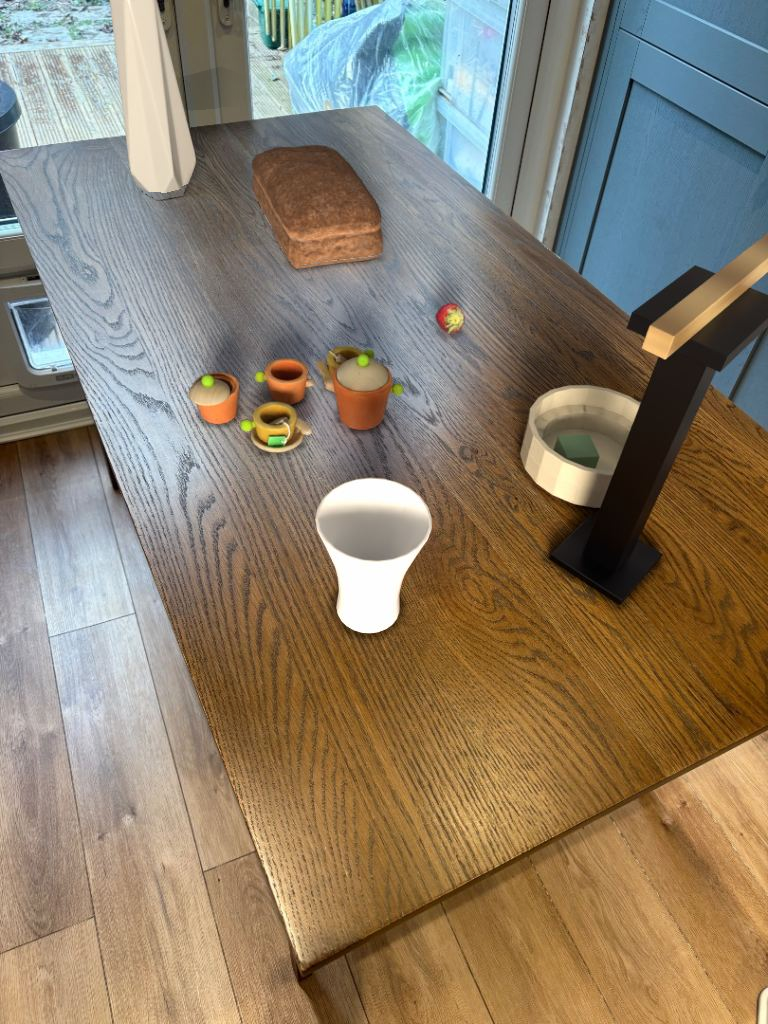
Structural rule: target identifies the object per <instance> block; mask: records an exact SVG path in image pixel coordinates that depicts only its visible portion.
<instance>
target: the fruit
mask: <svg viewBox="0 0 768 1024" xmlns="http://www.w3.org/2000/svg"><path fill="white" fill-rule="evenodd" d="M435 321H436V323H437V324H438V326H439V328H440V329H441V330H443V331H444V332H445V333H446V334H447V335H449V334H455V333H458V332H459V331H461V330H462V329H463V328H464V325H465V322H466V317H465V314H464V312H463V310H462V308H461V307H460V305H458V304H457V303H453V302H448V303H446V304H444V305H442V306H441V307H439V309H438V310H437V312H436V314H435Z"/></svg>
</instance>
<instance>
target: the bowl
mask: <svg viewBox="0 0 768 1024" xmlns="http://www.w3.org/2000/svg"><path fill="white" fill-rule="evenodd" d="M640 403H641V401H639V400H637V399H635V398H633V397H632V396H630V395H627V394H624V393H622V392H619V391H616V390H614V389H611V388H607V387H601V386H596V385H589V384H577V385H576V384H574V385H573V384H572V385H564V386H561V387H556V388H552V389H550V390H549V391H547V392H545V393H543V394H541V395H540V396H538V397H537V399H536V400H535V401H534V403H533V404H531V407H530V408H529V411H528V416H527V419H526V424H525V427H524V431H523V436H522V439H521V445H520V451H519V452H520V453H519V456H520V459H521V461H522V465H523V468H524V470H525V471H526V472H527V474H528V475H529V476H530V477H531V479H532V480H533V481H534V483H535V484H537V485H538V486H539V487H540V488H542V489H543V490H545V491H546V492H548V493H549V494H551V496H554V497H556V498H558V499H561V500H563V501H565V502H568V503H571V504H573V505H577V506H583V507H588V508H593V509H600V507H601V504H602V502H603V499H604V496H605V494H606V491H607V489H608V486H609V483H610V481H611V478H612V476H613V473H614V471H615V468H616V465H617V463H618V460H619V458H620V455H621V452H622V450H623V447H624V445H625V442H626V440H627V437H628V434H629V432H630V429H631V427H632V424H633V421H634V419H635V416H636V414H637V411H638V408H639V406H640ZM585 434H589V435H590V437H591V439H592V441H593V443H594V445H595V447H596V450H597V452H598V454H599V456H600V457H599V460H598V463H597V466H596V469H594V468H588V467H585V466H582V465H580V464H577V463H575V462H572V461H570V460H567V459H565V458H564V457H562V456H561V455H559V454H558V453H556V452H555V451H554V447H555V443H556V440H557V437H558V436H564V435H585Z"/></svg>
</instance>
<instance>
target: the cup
mask: <svg viewBox="0 0 768 1024" xmlns="http://www.w3.org/2000/svg"><path fill="white" fill-rule="evenodd" d="M314 521H315V525H316V530H317V531H316V532H317V533H318V535H319V537H320V539H321V542H322V543H323V545H324V547H325V549H326V551H327V553H328V555H329V558H330V559H331V561H332V564H333V566H334V569H335V572H336V576H337V584H338V586H337V587H338V592H337V593H338V594H337V599H336V608H335V609H336V613H337V615H338V617H339V619H340V621H341V622H342V623H343V624H344V625H345V626H346V627H347V628H350V629H351V630H353V631H355V632H359V633H363V634H364V633H366V634H372V633H373V634H375V633H379V632H381V631H385V630H387V629H388V628H389V627H391V626H392V625H393V624H394V623H395V622H396V620H398V616H399V615H400V608H401V606H400V603H401V602H400V592H401V589H402V583H403V580H404V577H405V575H406V573H407V571H408V570H409V569H410V567H411V565H412V563H413V562H414V560H415V559H416V557H417V556H418V554H419V553H420V551H421V550H422V549H423V547H424V546H425V545H426V543H427V541H428V540H429V538H430V535H431V533H432V529H433V528H432V527H433V517H432V514H431V511H430V509H429V506H428V504H427V503H426V501H424V499H423V498H422V497H421V496H420V495H419V494H418V493H417V492H416V491H414V490H413V489H412V488H411V487H408V486H406V485H405V484H403V483H400V482H398V481H394V480H390V479H386V478H380V477H379V478H378V477H367V478H366V477H363V478H356V479H353V480H349V481H346V482H342V483H341V484H339V485H338V486H336V487H334V488H332V489H330V491H329V492H328V493H327V494H326V495H325V496H323V498H322V499H321V501H320V503H319V504H318V506H317V508H316V513H315V519H314Z"/></svg>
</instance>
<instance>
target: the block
mask: <svg viewBox="0 0 768 1024" xmlns="http://www.w3.org/2000/svg"><path fill="white" fill-rule="evenodd" d="M554 451H555V452H556V453H558V454H559V455H561V456H562V457H564V458H565V459H567V460H570V461H572V462H575V463H577V464H580V465H582V466H585V467H588V468H594V469H596V466H597V463H598V460H599V457H600V456H599V454H598V452H597V450H596V447H595V445H594V443H593V441H592V439H591V437H590V435H589V434H585V435H564V436H558V437H557V440H556V443H555V447H554Z"/></svg>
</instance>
